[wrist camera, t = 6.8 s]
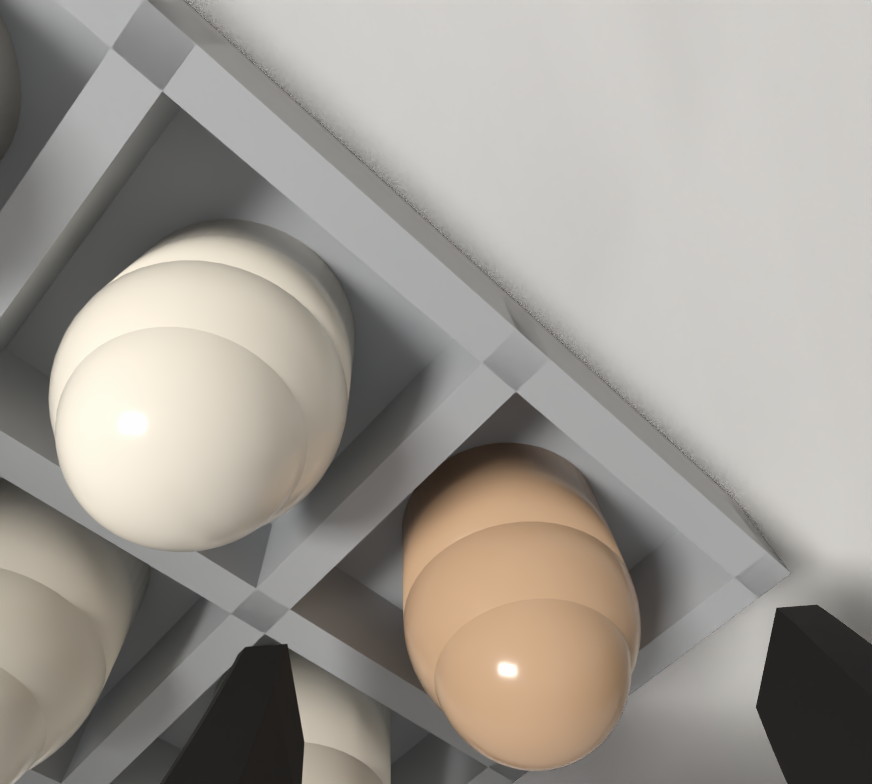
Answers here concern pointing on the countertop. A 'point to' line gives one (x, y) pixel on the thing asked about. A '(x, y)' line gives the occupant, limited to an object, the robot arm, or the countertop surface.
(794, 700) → the robot arm
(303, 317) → the cream eggs
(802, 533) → the countertop surface
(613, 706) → the brown egg
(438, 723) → the egg carton
